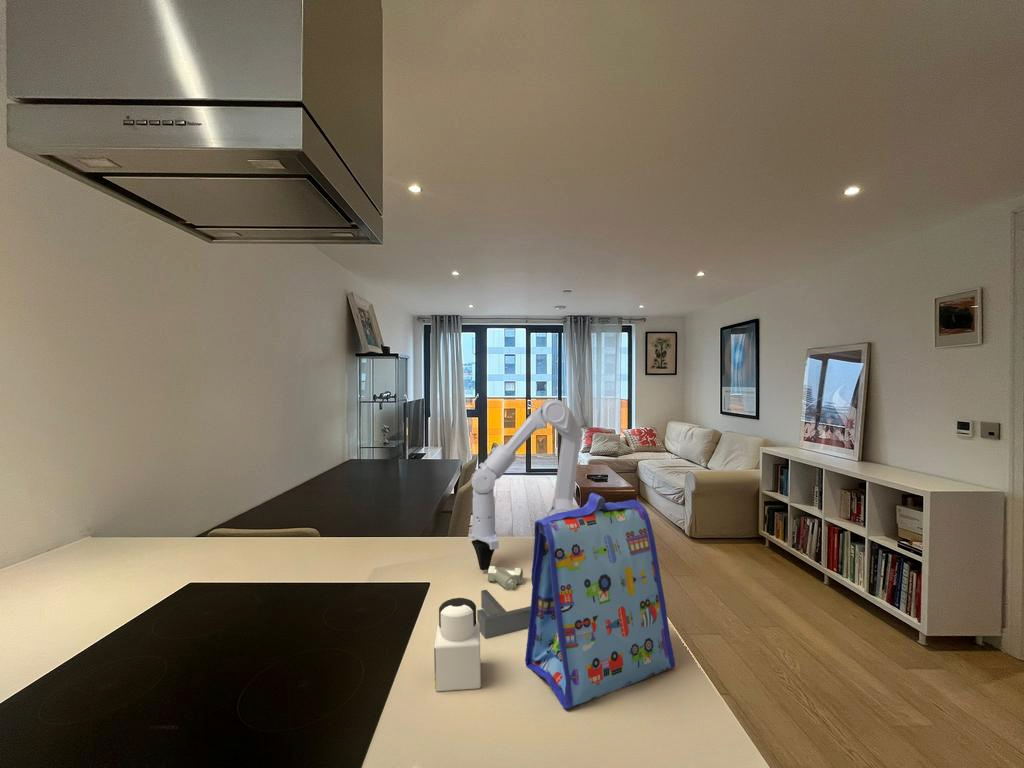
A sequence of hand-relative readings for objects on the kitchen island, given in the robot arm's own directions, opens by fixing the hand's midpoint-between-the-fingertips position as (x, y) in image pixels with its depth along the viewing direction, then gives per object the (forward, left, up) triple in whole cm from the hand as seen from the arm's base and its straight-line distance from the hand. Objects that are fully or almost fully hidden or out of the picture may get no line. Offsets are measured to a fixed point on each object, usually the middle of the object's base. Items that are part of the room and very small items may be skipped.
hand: (484, 569), depth 118 cm
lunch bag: (-3, +46, -1) cm, 46 cm away
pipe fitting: (-2, +9, -2) cm, 9 cm away
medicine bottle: (+19, +38, -1) cm, 42 cm away
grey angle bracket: (0, +23, -1) cm, 23 cm away
